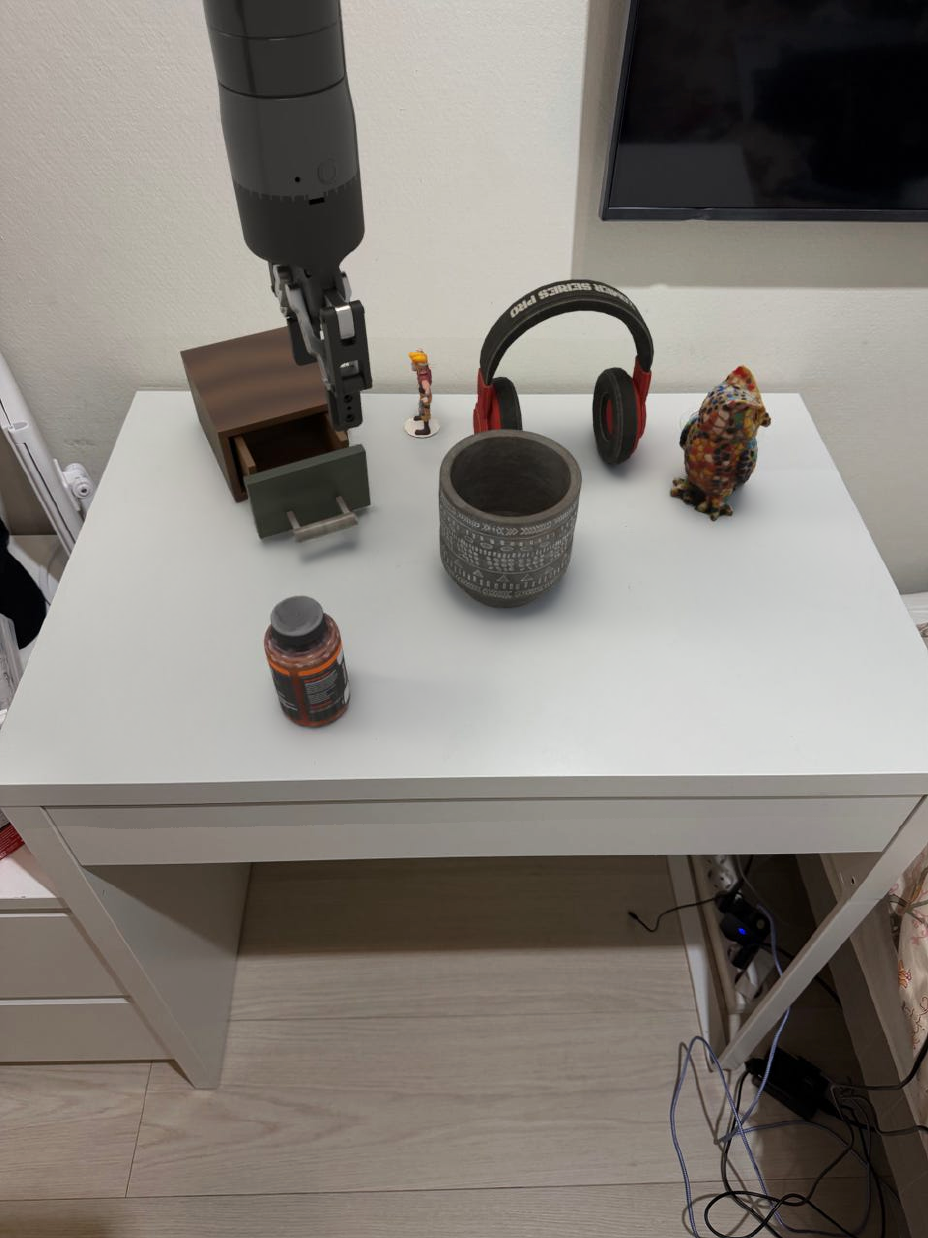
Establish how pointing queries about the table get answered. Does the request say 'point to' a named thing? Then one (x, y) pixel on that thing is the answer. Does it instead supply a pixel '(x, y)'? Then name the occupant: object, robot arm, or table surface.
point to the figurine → (721, 444)
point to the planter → (507, 515)
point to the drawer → (302, 477)
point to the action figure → (422, 398)
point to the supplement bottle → (306, 662)
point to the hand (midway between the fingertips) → (327, 392)
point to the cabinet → (249, 391)
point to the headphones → (615, 389)
